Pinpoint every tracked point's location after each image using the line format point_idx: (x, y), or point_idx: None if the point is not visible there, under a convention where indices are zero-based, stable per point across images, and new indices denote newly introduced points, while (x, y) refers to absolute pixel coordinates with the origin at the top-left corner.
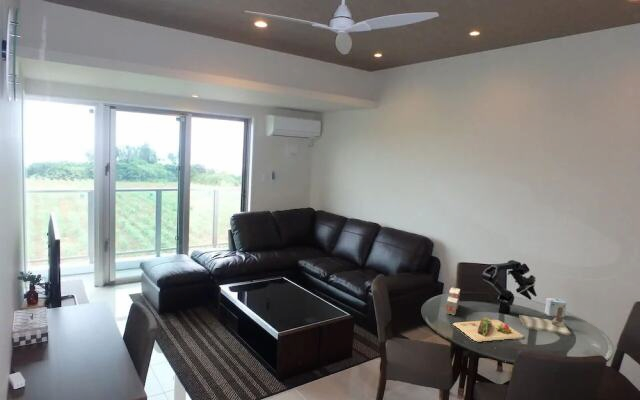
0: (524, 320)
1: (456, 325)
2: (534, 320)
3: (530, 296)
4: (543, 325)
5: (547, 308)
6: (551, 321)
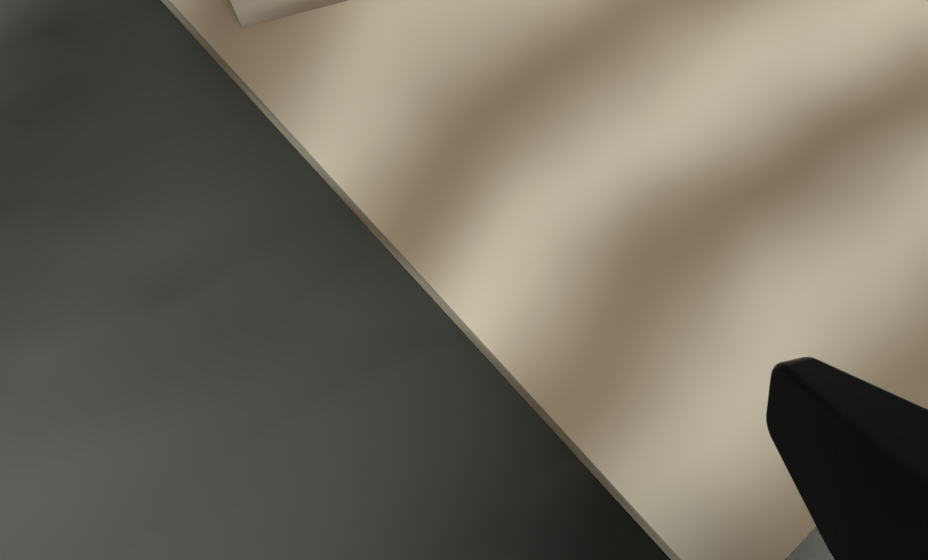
0: (911, 332)
1: None
2: (665, 233)
3: (897, 444)
4: (709, 9)
5: None
6: (320, 43)
